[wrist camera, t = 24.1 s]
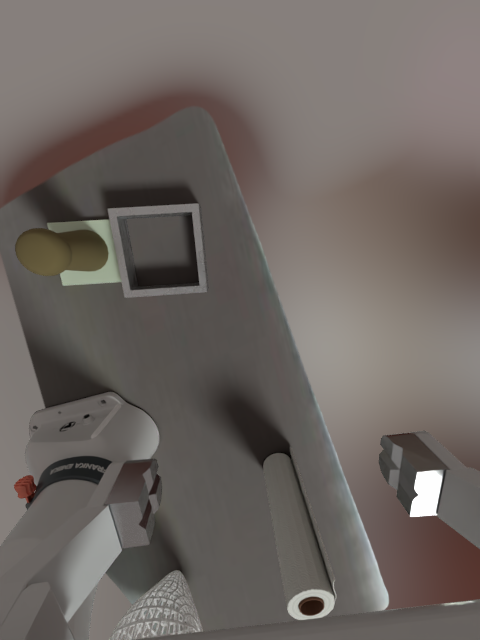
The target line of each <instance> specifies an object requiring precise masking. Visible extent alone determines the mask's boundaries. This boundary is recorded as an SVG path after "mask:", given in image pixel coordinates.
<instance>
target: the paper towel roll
mask: <svg viewBox="0 0 480 640" xmlns="http://www.w3.org/2000/svg"><path fill="white" fill-rule="evenodd" d="M290 454H291V457H292V460H291V459H290V457H289V456H288V455H286V454H283V453H275V454H272V455H270V456H268V457H267V458H266V459H265V461H264V464H263V470H264V476H265V482H266V488H267V494H268V500H269V505H270V511H271V517H272V523H273V529H274V535H275V540H276V546H277V552H278V558H279V564H280V570H281V575H282V581H283V587H284V593H285V599H286V605H287V609H288V612H289V614H290V615H291V616H292V617H294V618H296V619H299V620H306V619H314V618H321V617H323V616H325V615H327V614H328V613H329V612H330V611H331V610H332V609H333V607H334V604H335V600H336V593H335V590H334V581H335V578H334V575H333V572H332V568H331V565H330V562H329V559H328V556H327V553H326V550H325V547H324V544H323V541H322V538H321V535H320V532H319V529H318V526H317V523H316V520H315V517H314V514H313V511H312V508H311V505H310V502H309V499H308V496H307V493H306V490H305V487H304V484H303V481H302V478H301V475H300V472H299V469H298V466H297V462H296V459H295V456H294V453H293V450H292V447H290Z"/></svg>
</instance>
